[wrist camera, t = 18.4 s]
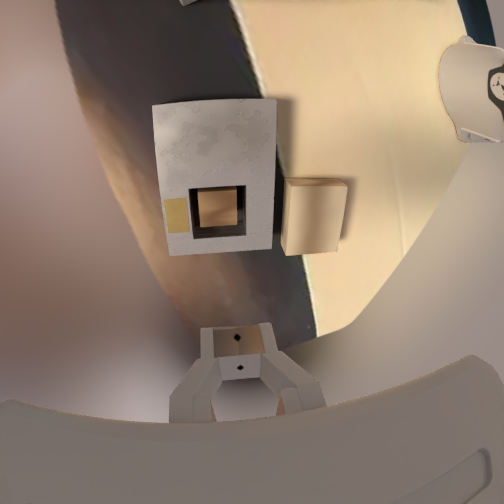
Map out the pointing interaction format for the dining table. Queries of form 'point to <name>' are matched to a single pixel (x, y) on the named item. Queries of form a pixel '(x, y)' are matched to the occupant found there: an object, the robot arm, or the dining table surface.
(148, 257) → the dining table surface
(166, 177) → the plate
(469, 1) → the dining table surface
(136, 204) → the dining table surface
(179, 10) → the dining table surface
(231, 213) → the walnut block
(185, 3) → the coffee box
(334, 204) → the beige rectangular block
